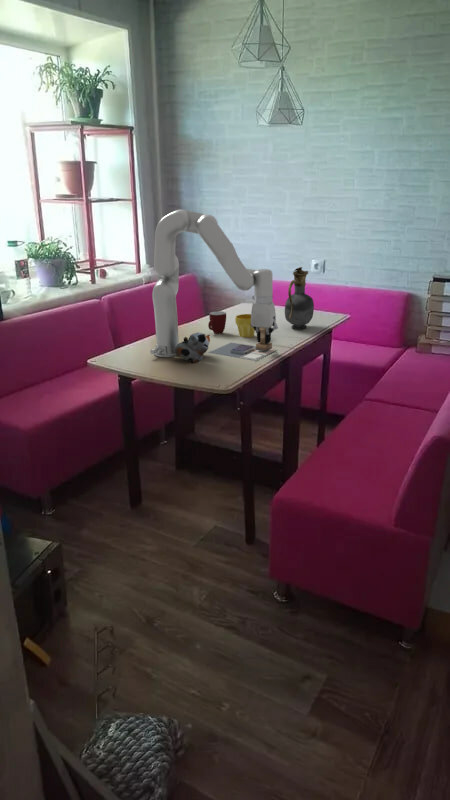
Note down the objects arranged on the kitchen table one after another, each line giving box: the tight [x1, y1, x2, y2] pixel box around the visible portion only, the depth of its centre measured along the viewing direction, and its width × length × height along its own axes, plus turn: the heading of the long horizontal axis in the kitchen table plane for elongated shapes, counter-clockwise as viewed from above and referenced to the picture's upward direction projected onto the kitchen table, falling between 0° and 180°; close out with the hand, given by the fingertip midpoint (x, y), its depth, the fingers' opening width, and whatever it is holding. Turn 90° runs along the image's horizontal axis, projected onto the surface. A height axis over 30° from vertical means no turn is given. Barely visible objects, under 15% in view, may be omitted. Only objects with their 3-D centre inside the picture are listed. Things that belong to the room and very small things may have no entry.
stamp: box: [255, 327, 273, 351], centre depth 253 cm, size 5×5×11 cm
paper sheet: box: [239, 348, 277, 361], centre depth 252 cm, size 17×8×1 cm, turn 146°
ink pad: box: [230, 343, 256, 355], centre depth 256 cm, size 9×7×2 cm
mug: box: [208, 310, 227, 335], centre depth 284 cm, size 11×8×10 cm
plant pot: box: [234, 313, 256, 339], centre depth 279 cm, size 10×10×10 cm
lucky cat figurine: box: [172, 332, 211, 364], centre depth 248 cm, size 15×12×14 cm
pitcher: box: [284, 266, 315, 331], centre depth 286 cm, size 11×19×30 cm, turn 147°
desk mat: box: [207, 342, 277, 363], centre depth 256 cm, size 18×24×1 cm
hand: (264, 341), depth 254 cm, fingers closed on stamp, 3 cm apart
